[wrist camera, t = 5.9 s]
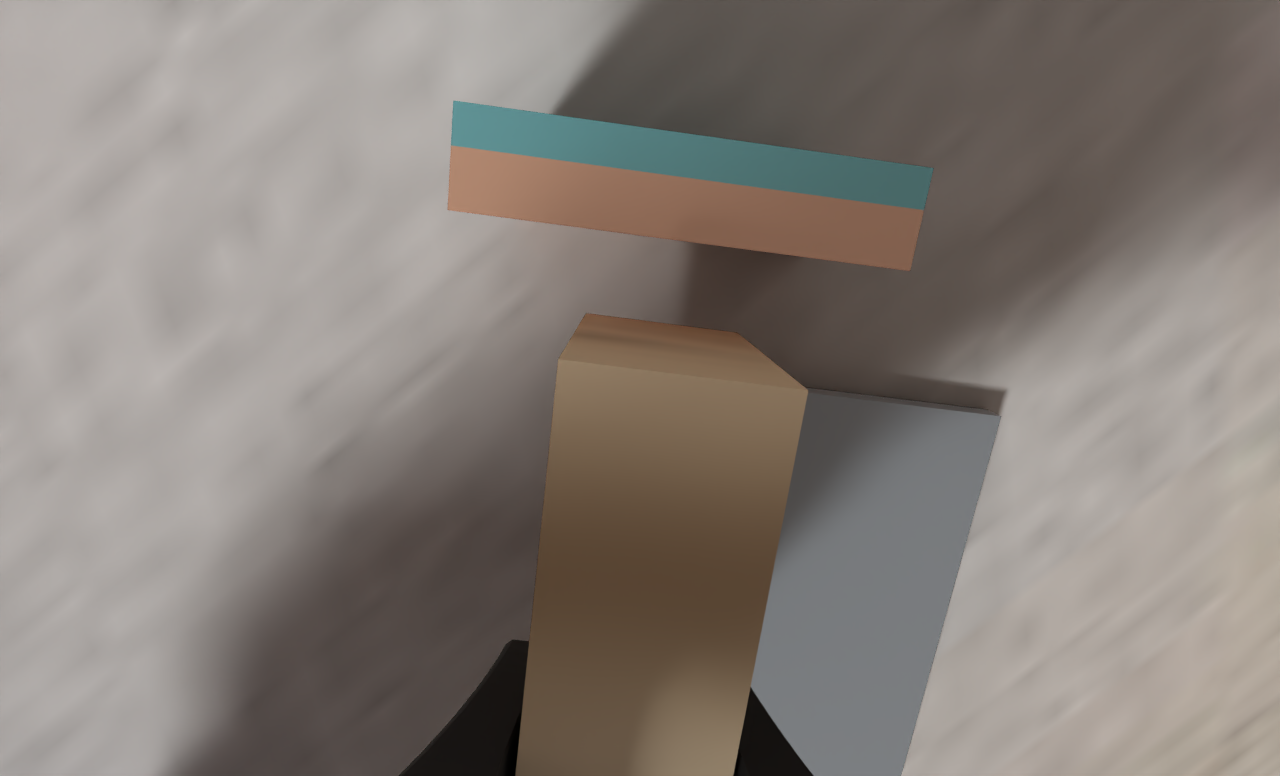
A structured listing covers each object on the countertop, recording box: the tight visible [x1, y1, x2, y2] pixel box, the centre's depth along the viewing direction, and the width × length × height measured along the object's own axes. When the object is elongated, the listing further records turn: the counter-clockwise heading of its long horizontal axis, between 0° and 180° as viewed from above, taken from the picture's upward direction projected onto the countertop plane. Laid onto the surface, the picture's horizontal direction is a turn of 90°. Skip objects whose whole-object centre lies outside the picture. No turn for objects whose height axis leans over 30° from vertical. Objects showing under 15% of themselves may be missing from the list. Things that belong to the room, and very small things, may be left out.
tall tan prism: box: [515, 313, 808, 776], centre depth 11 cm, size 10×3×5 cm, turn 173°
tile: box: [448, 101, 934, 271], centre depth 12 cm, size 2×7×6 cm, turn 82°
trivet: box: [751, 388, 1001, 776], centre depth 17 cm, size 12×8×1 cm, turn 173°
